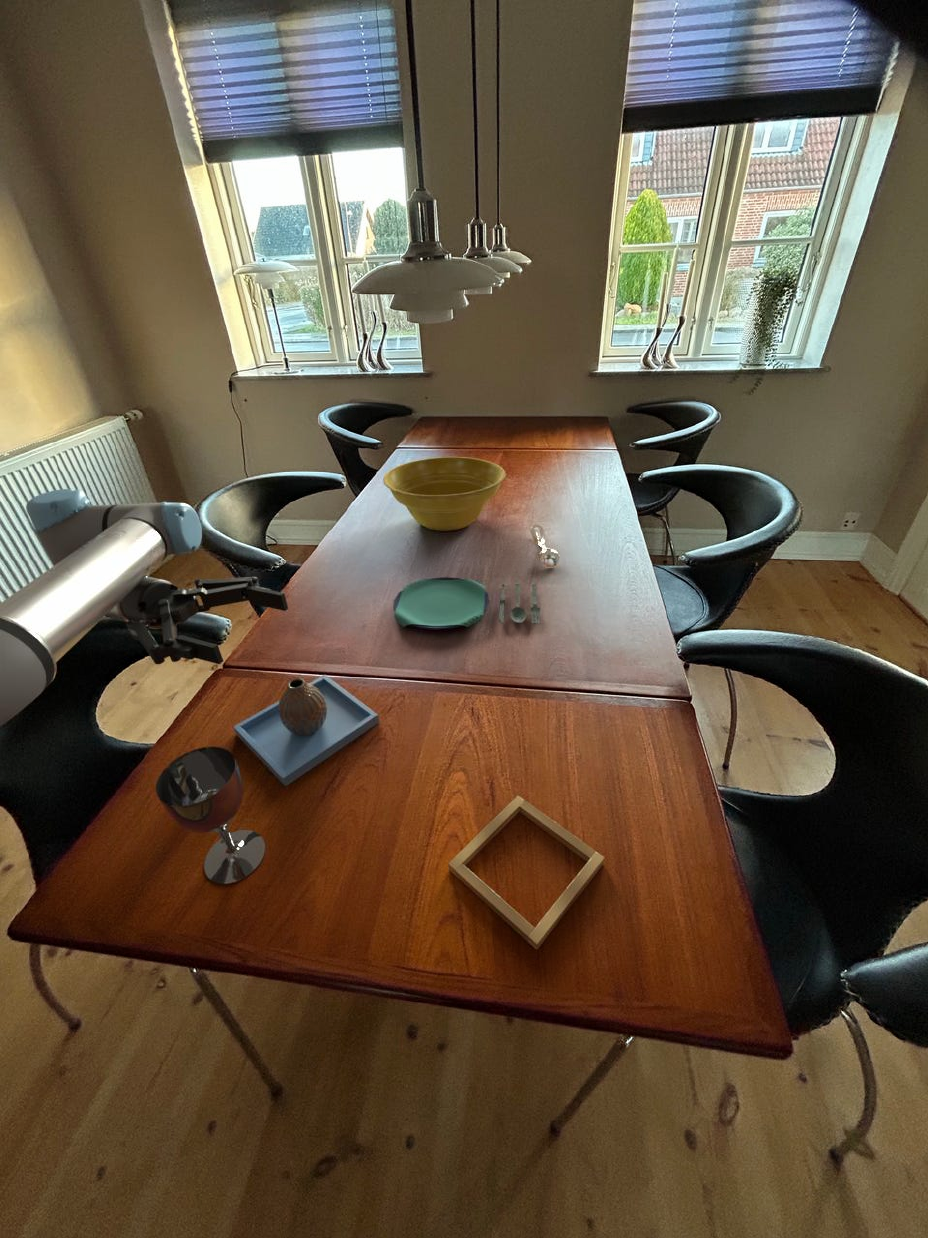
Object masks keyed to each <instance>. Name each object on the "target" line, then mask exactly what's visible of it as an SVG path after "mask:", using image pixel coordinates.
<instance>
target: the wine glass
mask: <svg viewBox="0 0 928 1238" xmlns="http://www.w3.org/2000/svg"><path fill="white" fill-rule="evenodd" d="M241 774H242V773H241V772H240V768H239V766H238V763H237V760H236V759H235V757H234V755H233V753H232V752H231V751H230V750H228V749H226V748H224V747H220V746H204V747H200V748H196V749H193V750H190V751H187V752H186V753H183V754H181V755H180V756H178V757H177V758H175V759H174V760H173V761H171V762H170V763H169V764H168V765H167V766H165V768H164V769H163V770H162V772H161V774H160V775H159V777H158V779H157V781H156V785H155V793H156V796H157V798H158V800H159V802H160V804H161V805H162V807H163V808H164V810H165V811H166V814H168V816H169V817H170V818H171V819H172V820H173V821H174V822H175V823H176V824H178V825H179V826H180V827H181V828H182V829H184V830H186V831H188V832H190V833H195V834H209V833H213V832H214V833H216V834H217V835H218V836H219V837H220V839H219V840H218V841H216V842H215V843H214V844H213V845H212V846H211V848H210V849H209V851H208V852H207V854H206V856H205V859H204V863H203V869H204V870H203V871H204V874H205V876H206V877H207V879H208V880H210V881H211V882H212V883H215V884H218V885H230V884H234V883H237V882H240V881H242V880H243V879H245V878H247V877H249V876H250V875H251V874H252V873H253V872H254V871H255V870H256V869H257V868H258V867H260V866H259V865H260V864H261V863H262V861H263V859H264V857H265V853H266V843H265V839H264V837H262V835H261V834H260V833H258V832H256V831H254V830H250V829H241V830H236V831H233V832H231V833H230V829H229V825H230V823H231V822H232V820H234V818H235V817H236V816H237V814H238V813H239V811H240V809H241V807H242V804H243V798H244V786H243V780H242V775H241Z"/></svg>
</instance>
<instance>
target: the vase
mask: <svg viewBox="0 0 928 1238" xmlns="http://www.w3.org/2000/svg"><path fill="white" fill-rule="evenodd" d="M309 683H310V682H309ZM309 683H308V682H306V681H305V680H304V678H301V677H298V678H293V679H291V680H289V681H288V683H287V684H286V685H287V686H286V689H285V690H284V691H283V693H282V694H281V696H280V699H279V700H280V702H279V715H280V718H281V721H282V723H283V725H284V726H285V727H286V728H287V729H288V730H289V731H290V732H291V733H294V734H296V735H310V734H313V733H314V732H316V731H317V730H319V729H320V728H321V727H322V725H323V724H324V722H325V719H326V715H327V705H326V701H325V698H324V696H323V695H322V693H321V692H320V691H319V690H318V689H317V688H316V687H315V686H313V685H311V684H309Z"/></svg>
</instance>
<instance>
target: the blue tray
mask: <svg viewBox="0 0 928 1238" xmlns="http://www.w3.org/2000/svg"><path fill="white" fill-rule="evenodd" d="M309 684H311V685H313V686H315V687H316V688H317V689H318V690H319V691H320V692H321V693H322V695H323V696H324V698H325V701H326V705H327V715H326V719H325V722H324V724H323V725H322V727H321V728H320V729H319V730H317V731H316V732H314V733H313V734H310V735H296V734H294V733H291V732H290V731H289V730H288V729H287V728H286V727H285V726H284V725H283V723H282V721H281V718H280V715H279V702H280V699H279V700H278V701H276V702H274V703H273V704H271V705H268V706H266V707H265V708H264V709H262V710H260V711H258V712H257V713H255V714H253V715H252V716H250V717H248V718H246V719H244V720H242V721H240V722H239V723H237V724H236V725H234V726H233V727H232V728H233V730H234V733H235V735H236V736H237V737H238V738H239V739H240V740H241V742H242V743H243V744H245V745H246V747H247V748H248V749H249V750H250V751H251V752H252V753H253V754H254V755H255V756H256V757H257V758H258V759H259V760H260V762H262V764H263V765H264V766H265V767H266V768H267V769H268V770H269V771H270V772H271V773H272V774H273V775H274V776H275V777H276V778H277V779H278V780H279V781H280V782H281V784H282V785H283V786H284V787H287V786H289V785H290V784H292V783H293V782H294V781H296V780H297V779H299V778H300V777H302V776H303V775H304V774H306V773H307V772H309V771H310V770H313V768H315V767H316V766H318V765H319V764H321V763H322V762H324V761H325V760H326V759H328V758H330V757H331V756H332V755H335V753H337V752H338V751H340V750H341V749H343V748H344V747H345V746H347V745H349V744H350V743H351V742H353V741H354V740H356V739H357V738H359V737H360V736H362V735H363V734H365V733H366V732H368V731H370V730H371V729H372V728H373V727H375V726H377V725H378V724H379V723H380V718H379V714H378V713H376V711H374V710H372V709H371V708H370V707H368V706H367V705H366V704H365V703H363V702H362V701H361V700H359V699H358V698H357V697H356V696H354V695H353V694H351V693H350V692H349V691H347V690H346V689H345V688H343V687H342V686H341V685H340V684H338V683H337V682H335V681H334V680H333V679H332V678H330V677H329V676H327V675H326V674H323V675H321V676H319V677H318V678H316V679H314V680H313V681H311V682H309Z"/></svg>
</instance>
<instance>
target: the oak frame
mask: <svg viewBox="0 0 928 1238" xmlns="http://www.w3.org/2000/svg"><path fill="white" fill-rule="evenodd" d="M519 813H520V814H521V815H523V816H524V817H525V818H526V819H528V820H530V821H531V822H532V823H533V824H535V825H536V826H537V827H539V828H540V829H541V830H543V831H544V832H546V833H547V834H548V835H549V836H551V837H552V838H553V839H554V840H556V841H558V842H559V843H560V844H562V845H563V846H564V847H566V848H567V849H569V850H570V851H571V852H572V853H574V854H575V855H576V856H578V857H579V858H581V859H582V860H584V861H585V862H586V864H585V865H584V866H583V867H582V868H581V869H580V871H579V872H578V873H577V874H576V876H575V877H574V878H573V880H572V881H570V883H569V885H567V887H566V889H564V891H563V892H562V893H561V895H560V896H559V897H558V899H556V901H555V902H554V904H553V905H552V906H551V907H550V909H548V911H547V912H546V913H545V914H544V916H543V917H542V918H541V919H540V921H539V922H538V924H537V925H536V926H533V925H532V924H531V923H530V922H529V921H528V920H527V919H525V918H524V917H523V916H522V915H521V914H520V913H519V912H518V911H517V910H515V909H514V908H513V907H512V906H511V905H509V903H507V902H506V901H505V900H504V899H503V897H502V898H501V896H500V895H498V893H496V892H495V891H494V890H493V889H492V888H491V887H489V886H488V885H487V884H486V883H485V882H484V881H483V880H482V879H480V878H479V876H477V875H476V874H475V873H474V872H472V871H471V870H470V869H469V868H468V867H467V866H468V864H469V863H470V862H471V861H472V860H473V859H474V858H475V857H476V856H477V855H478V854H479V853H480V852H481V851H482V850H483V849H484V848H485V847H486V846H487V845H488V844H489V843H490V842H491V841H492V840H493V839H494V838H495V837H496V836H497V835H498V834H499V833H500V832H501V831H502V830H503V829H504V828H505V827H506V826H507V825H508V824H509V823H510V822H511V820H513V819H514V818H515V817H516V816H517V815H518V814H519ZM604 863H605V856H603V855H602V854H600V853H599V852H597V851H596V850H595V849H593V848H592V847H590V846H589V845H587V844H586V843H585V842H583V841H582V840H581V839H579V838H578V837H576V835H574V834H572V833H571V832H570V831H568V830H567V829H566V828H564V827H563V826H561V825H560V824H559V823H558V822H556V821H554V820H553V819H551V817H549V816H547V815H546V814H545V813H543V812H541V810H539V809H537V808H536V807H535V806H534V805H532V804H531V803H529V802H528V801H527V800H525V799H524V798H522V797H521V796H520V795H517V796H516V797H515V798H514V799H512V801H511V802H510V803H509V804H508V805H506V806H505V808H503V810H501V812H499V814H498V815H496V816H495V817H494V819H492V820H491V821H490V822H489V823H488V824H487V825H486V826H485V827H484V828H483V829H482V830H481V831H480V832H479V833H478V834H477V835H476V836H475V837H474V838H473V839H472V840H471V841H470V842H469V843H468V844H467V845H466V846H465V847H464V848H463V849H462V850H460V852H458V854H457V855H455V857H454V858H452V859H451V861H450V862H448V863H447V869H448V871H449V872H450V873H452V874H453V875H454V876H455V877H456V878H457V879H458V880H459V881H460V882H461V883H463V884H464V885H465V886H466V887H467V888H468V889H469V890H470V891H471V892H472V893H473V894H475V895H476V896H477V897H478V898H479V899H480V900H481V901H482V902H483V903H484V904H486V905H487V906H488V907H489V908H490V909H491V910H492V911H493V912H494V913H495V914H496V915H497V916H498V917H499V918H501V920H503V921H504V922H505V923H506V924H508V926H510V927H511V928H512V929H513V930H514V932H516V933H517V934H518V935H519V936H520V937H522V938H523V939H524V940H525V941H526V942H527V943H528V944H529V945H530V946H531V947H532V948H534V949H535V950H538V949H539V948H540V947H541V945H542V944H543V943H544V942H545V940H546V939H547V937H548V936H549V935H550V934H551V932H552V931H553V930H554V929H555V928H556V926H557V925H558V924H559V922H560V921H561V920H562V918H563V917H564V916H565V914H566V913H567V912H568V910H569V909H570V908H571V907H572V905H573V904H574V903H575V901H576V900H577V899H578V897H579V896H580V895H581V894H582V892H583V891H584V890H585V888H586V887H587V886H588V885H589V884H590V882H591V881H592V879H593V878H594V877H595V876H596V874H597V873H598V872H599V870H600V869H601V868H602V867H603V865H604Z"/></svg>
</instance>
